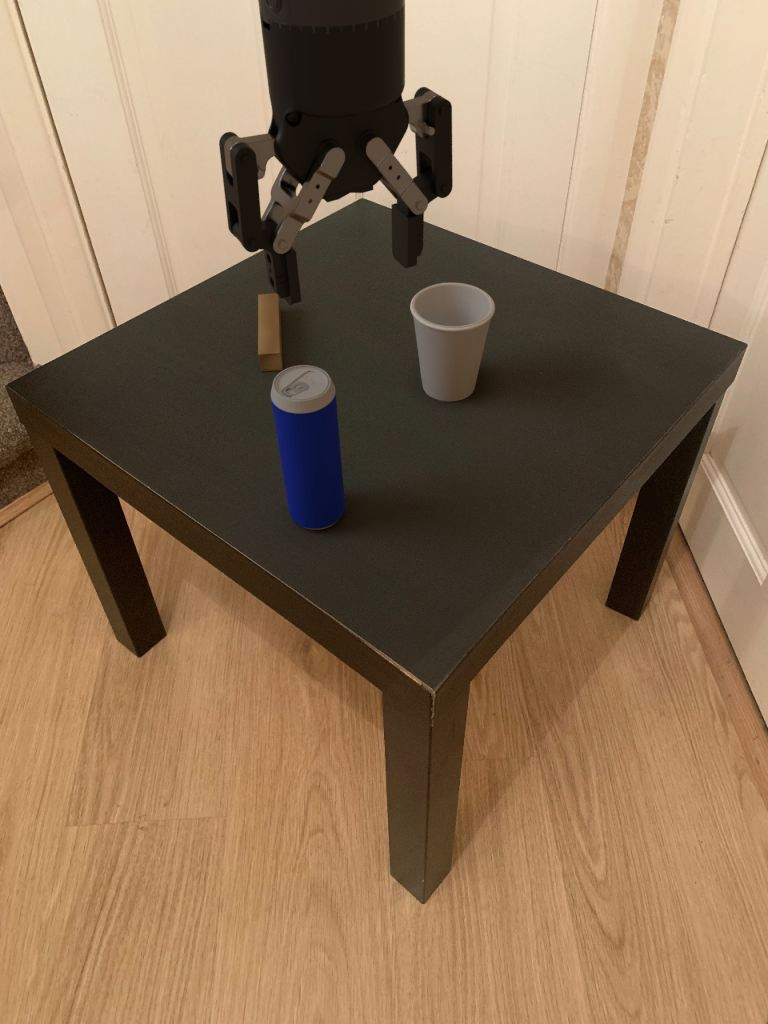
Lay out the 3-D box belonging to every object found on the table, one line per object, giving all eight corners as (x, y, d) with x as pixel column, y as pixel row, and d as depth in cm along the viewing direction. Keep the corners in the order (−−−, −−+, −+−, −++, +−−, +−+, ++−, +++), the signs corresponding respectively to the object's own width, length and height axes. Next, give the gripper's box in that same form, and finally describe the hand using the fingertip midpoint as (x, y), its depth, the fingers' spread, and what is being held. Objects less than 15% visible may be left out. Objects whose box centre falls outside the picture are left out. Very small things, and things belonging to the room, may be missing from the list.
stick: (260, 372, 88) (257, 354, 86) (260, 311, 96) (258, 294, 94) (282, 370, 88) (280, 352, 86) (280, 310, 96) (278, 292, 94)
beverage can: (320, 484, 76) (305, 354, 65) (356, 512, 73) (348, 382, 62) (278, 512, 73) (255, 383, 62) (314, 542, 71) (298, 412, 60)
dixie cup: (417, 414, 82) (418, 332, 75) (404, 365, 88) (403, 285, 81) (496, 404, 83) (504, 323, 76) (477, 357, 89) (484, 277, 81)
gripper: (414, -40, 45) (412, 229, 57) (174, 1, 41) (226, 283, 52) (488, -8, 41) (469, 276, 52) (228, 42, 36) (271, 340, 48)
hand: (348, 279), depth 52 cm, fingers open, 8 cm apart
